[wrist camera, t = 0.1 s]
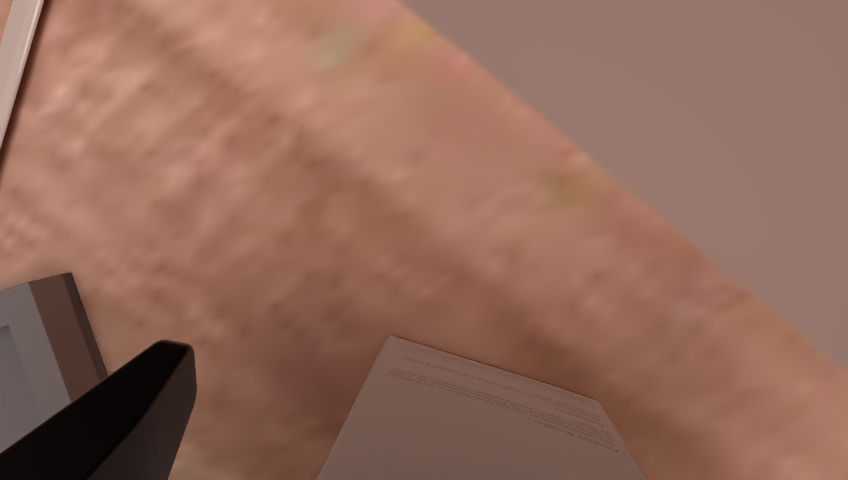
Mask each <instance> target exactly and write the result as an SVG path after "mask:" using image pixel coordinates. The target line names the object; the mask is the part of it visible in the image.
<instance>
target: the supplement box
mask: <svg viewBox="0 0 848 480" xmlns="http://www.w3.org/2000/svg"><path fill="white" fill-rule="evenodd" d="M316 480H648V478H647V477H646V475H645V473H644V472H643V470H642V469H641V467H640V465H639V464H638V462H637V460H636V459H635V457H634V456H633V455H632V453H631V451H630V450H629V448H628V447H627V445H626V443H625V442H624V440H623V439H622V437H621V436H620V434H619V432H618V431H617V429H616V427H615V426H614V424H613V423H612V421H611V419H610V418H609V417H608V415H607V413H606V412H605V410H604V409H603V407H602V405H601V404H600V402H599V401H597V400H595V399H591V398H588V397H585V396H582V395H579V394H577V393H574V392H571V391H568V390H565V389H562V388H559V387H556V386H553V385H549V384H546V383H543V382H540V381H537V380H534V379H531V378H527V377H524V376H521V375H518V374H515V373H511V372H508V371H505V370H502V369H498V368H495V367H492V366H489V365H486V364H482V363H479V362H476V361H473V360H469V359H466V358H463V357H460V356H456V355H453V354H450V353H447V352H444V351H440V350H437V349H434V348H431V347H427V346H424V345H421V344H418V343H414V342H411V341H408V340H405V339H401V338H399V337H396V336H393V335H389V336H388V337H387V338H386V339H385V341H384V343H383V345H382V347H381V349H380V351H379V353H378V356H377V358H376V360H375V362H374V364H373V366H372V368H371V370H370V372H369V374H368V376H367V378H366V380H365V382H364V384H363V386H362V388H361V390H360V392H359V394H358V396H357V398H356V400H355V402H354V404H353V406H352V408H351V411H350V413H349V415H348V417H347V419H346V421H345V423H344V425H343V427H342V429H341V431H340V433H339V435H338V437H337V439H336V441H335V443H334V445H333V447H332V449H331V451H330V453H329V455H328V457H327V459H326V461H325V463H324V465H323V467H322V469H321V471H320V473H319V475H318V477H317V479H316Z"/></svg>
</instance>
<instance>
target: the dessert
mask: <svg viewBox="0 0 848 480" xmlns="http://www.w3.org/2000/svg"><path fill="white" fill-rule="evenodd" d="M43 3H44V0H13V3H12V6H11V10H10V13H9V16H8V20H7V23H6V27H5V30H4V33H3V37H2V40H1V43H0V149H1V146H2V142H3V139H4V135H5V132H6V129H7V125H8V122H9V118H10V115H11V112H12V108H13V105H14V101H15V98H16V95H17V91H18V88H19V84H20V81H21V78H22V74H23V71H24V67H25V64H26V61H27V57H28V54H29V51H30V47H31V44H32V40H33V37H34V34H35V30H36V27H37V23H38V20H39V17H40V13H41V10H42V6H43Z"/></svg>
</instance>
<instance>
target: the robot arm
mask: <svg viewBox="0 0 848 480" xmlns="http://www.w3.org/2000/svg"><path fill="white" fill-rule="evenodd" d="M196 392H197V383H196V370H195V357H194V350H193V348H192V346H191V345H188V344H186V343H180V342H175V341H170V340H160V341H157V342H156V343H154V344H153V345H151V346H150V347H148V348H147V349H146V350H144V351H143V352H141V353H140V354H139V355H137V356H136V357H134V358H133V359H132V360H130V361H129V362H127V363H126V364H125V365H123V366H122V367H120V368H119V369H118V370H116V371H115V372H113V373H112V374H111V375H109V376H108V377H106V378H105V379H103V380H102V381H101V382H99V383H98V384H96V385H95V386H94V387H92V388H91V389H89V390H88V391H87V392H85V393H84V394H82V395H81V396H80V397H78V398H77V399H75V400H74V401H73V402H71V403H70V404H68V405H67V406H66V407H64V408H63V409H61V410H60V411H59V412H57V413H56V414H54V415H53V416H52V417H50V418H49V419H47V420H46V421H45V422H43V423H42V424H40V425H39V426H37V427H36V428H35V429H33V430H32V431H30V432H29V433H28V434H26V435H25V436H23V437H22V438H21V439H19V440H18V441H16V442H15V443H14V444H12V445H11V446H9V447H8V448H7V449H5V450H4V451H2V452H1V453H0V480H168V477H169V474H170V471H171V468H172V466H173V463H174V460H175V457H176V454H177V451H178V449H179V446H180V443H181V440H182V437H183V434H184V432H185V429H186V426H187V423H188V420H189V418H190V415H191V412H192V409H193V406H194V403H195V399H196Z"/></svg>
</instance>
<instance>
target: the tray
mask: <svg viewBox="0 0 848 480" xmlns="http://www.w3.org/2000/svg"><path fill="white" fill-rule="evenodd" d="M106 377H108V376H107V373H106V370H105V367H104V365H103V362H102V359H101V356H100V353H99V350H98V348H97V345H96V342H95V339H94V336H93V334H92V331H91V328H90V325H89V322H88V320H87V317H86V314H85V311H84V308H83V305H82V303H81V300H80V297H79V294H78V291H77V289H76V286H75V283H74V280H73V277H72V275H71V273H66V274H62V275H57V276H53V277H49V278H44V279H40V280H36V281H31V282H27V283H24V284H21V285H18V286H15V287H12V288H9V289H6V290H3V291H0V453H1V452H2V451H4V450H5V449H7V448H8V447H9V446H11V445H12V444H14V443H15V442H16V441H18V440H19V439H21V438H22V437H23V436H25V435H26V434H28V433H29V432H30V431H32V430H33V429H35V428H36V427H37V426H39V425H40V424H42V423H43V422H45V421H46V420H47V419H49V418H50V417H52V416H53V415H54V414H56V413H57V412H59V411H60V410H61V409H63V408H64V407H66V406H67V405H68V404H70V403H71V402H73V401H74V400H75V399H77V398H78V397H80V396H81V395H82V394H84V393H85V392H87V391H88V390H89V389H91V388H92V387H94V386H95V385H96V384H98V383H99V382H101V381H102V380H103V379H105V378H106Z"/></svg>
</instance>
